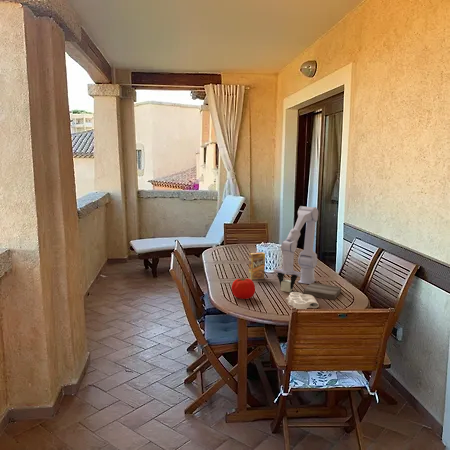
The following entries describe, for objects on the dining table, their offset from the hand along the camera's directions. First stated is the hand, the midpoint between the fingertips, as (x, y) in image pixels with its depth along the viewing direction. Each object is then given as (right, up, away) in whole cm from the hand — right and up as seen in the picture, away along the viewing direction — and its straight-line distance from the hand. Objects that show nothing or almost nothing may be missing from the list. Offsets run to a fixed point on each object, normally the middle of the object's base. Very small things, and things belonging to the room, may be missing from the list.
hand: (286, 287), depth 219 cm
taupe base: (+18, -2, -3) cm, 19 cm away
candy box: (-15, +2, +22) cm, 26 cm away
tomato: (-24, -3, -14) cm, 28 cm away
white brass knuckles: (+4, -5, -20) cm, 21 cm away
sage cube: (0, -1, 0) cm, 1 cm away
